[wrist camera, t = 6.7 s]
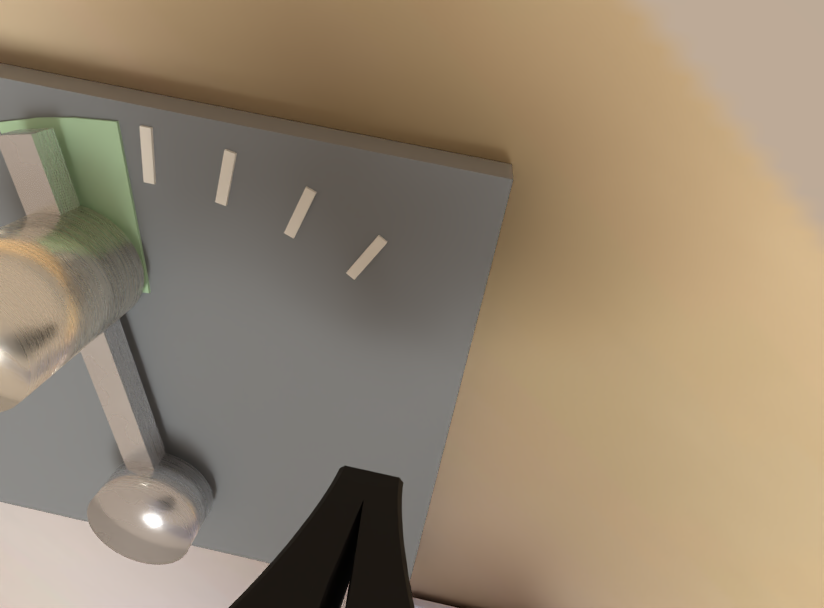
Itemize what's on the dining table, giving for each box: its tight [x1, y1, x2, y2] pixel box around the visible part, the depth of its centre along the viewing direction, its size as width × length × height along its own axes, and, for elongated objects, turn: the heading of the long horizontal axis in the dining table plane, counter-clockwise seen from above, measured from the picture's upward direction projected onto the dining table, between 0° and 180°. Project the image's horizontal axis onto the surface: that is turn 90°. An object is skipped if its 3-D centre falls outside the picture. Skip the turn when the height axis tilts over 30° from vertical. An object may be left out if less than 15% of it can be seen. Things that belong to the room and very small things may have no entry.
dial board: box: [0, 63, 513, 581], centre depth 19 cm, size 17×19×2 cm
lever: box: [0, 128, 213, 565], centre depth 16 cm, size 15×4×5 cm, turn 3°
